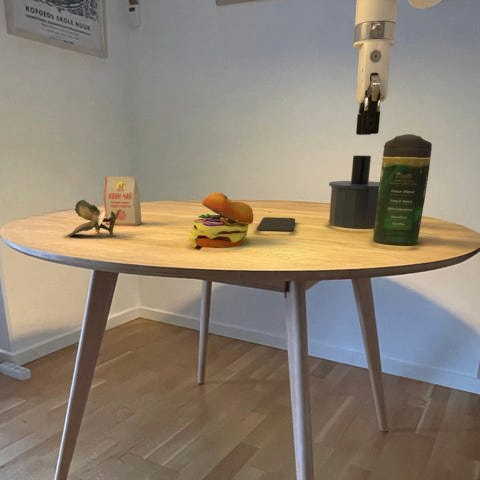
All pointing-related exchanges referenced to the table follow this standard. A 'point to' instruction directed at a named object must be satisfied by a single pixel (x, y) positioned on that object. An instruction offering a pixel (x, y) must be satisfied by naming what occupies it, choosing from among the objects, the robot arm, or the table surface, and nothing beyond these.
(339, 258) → the table surface
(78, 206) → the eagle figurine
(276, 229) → the phone
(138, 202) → the paper takeout bag
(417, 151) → the coffee jar
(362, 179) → the lid
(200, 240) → the cheeseburger
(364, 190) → the pot
